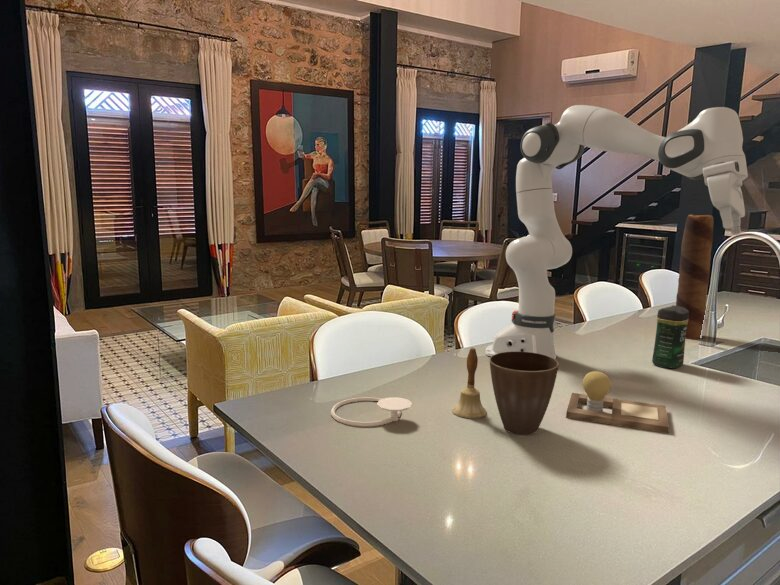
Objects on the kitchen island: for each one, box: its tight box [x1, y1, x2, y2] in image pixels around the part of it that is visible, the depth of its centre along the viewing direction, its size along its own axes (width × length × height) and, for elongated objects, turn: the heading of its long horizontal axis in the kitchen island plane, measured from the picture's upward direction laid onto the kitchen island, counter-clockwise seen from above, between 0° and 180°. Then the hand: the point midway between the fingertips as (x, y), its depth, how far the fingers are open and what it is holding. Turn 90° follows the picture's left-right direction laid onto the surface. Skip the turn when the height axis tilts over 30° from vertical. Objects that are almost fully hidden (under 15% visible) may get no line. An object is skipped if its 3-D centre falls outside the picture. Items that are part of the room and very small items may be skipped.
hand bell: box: [451, 347, 488, 419], centre depth 138 cm, size 8×8×16 cm
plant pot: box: [488, 352, 560, 436], centre depth 129 cm, size 15×15×16 cm
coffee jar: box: [651, 305, 689, 369], centre depth 178 cm, size 10×8×19 cm
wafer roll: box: [675, 214, 715, 340], centre depth 211 cm, size 10×11×45 cm
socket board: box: [565, 392, 670, 434], centre depth 139 cm, size 22×14×2 cm, turn 68°
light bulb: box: [582, 371, 612, 412], centre depth 140 cm, size 6×6×10 cm
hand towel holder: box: [330, 396, 413, 428], centre depth 137 cm, size 17×4×21 cm
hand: (732, 231), depth 134 cm, fingers open, 8 cm apart
